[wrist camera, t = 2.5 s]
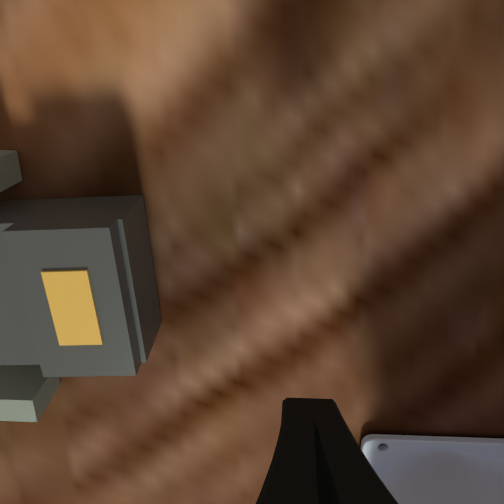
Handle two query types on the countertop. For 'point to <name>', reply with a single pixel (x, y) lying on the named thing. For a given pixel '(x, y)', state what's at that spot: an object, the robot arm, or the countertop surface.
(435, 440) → the robot arm
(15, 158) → the deck mount
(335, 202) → the countertop surface
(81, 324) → the dark grey square block
